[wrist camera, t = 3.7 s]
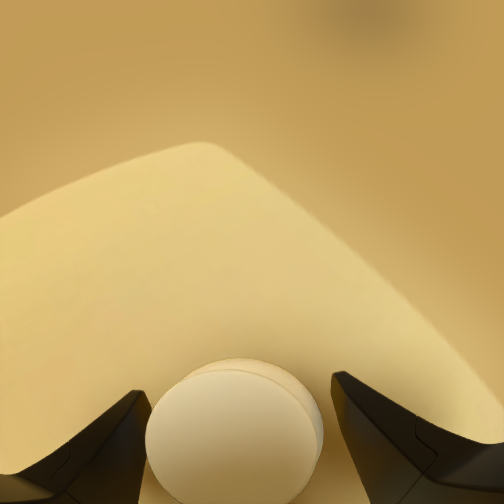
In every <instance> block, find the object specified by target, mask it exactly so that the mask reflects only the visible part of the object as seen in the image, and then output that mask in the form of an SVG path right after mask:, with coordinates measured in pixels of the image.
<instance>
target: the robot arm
mask: <svg viewBox="0 0 504 504" xmlns="http://www.w3.org/2000/svg"><path fill="white" fill-rule="evenodd" d="M331 397H332V400H333V404H334V408H335V411H336V415H337V419H338V422H339V426H340V430H341V432H342V435H343V438H344V440H345V442H346V445H347V447H348V450H349V452H350V454H351V457H352V459H353V462H354V464H355V466H356V469H357V471H358V474H359V476H360V478H361V481H362V483H363V486H364V488H365V491H366V493H367V495H368V498H369V500H370V503H371V504H504V442H502V443H497V444H483V443H479V442H476V441H473V440H470V439H467V438H465V437H462V436H459V435H457V434H454V433H452V432H449V431H447V430H445V429H442V428H440V427H438V426H436V425H434V424H432V423H430V422H428V421H426V420H424V419H423V418H421V417H419V416H417V417H416V414H414V413H412V412H410V411H409V410H407V409H405V408H404V407H402V406H400V405H399V404H397V403H395V402H394V401H392V400H390V399H389V398H387V397H385V396H384V395H382V394H381V393H379V392H377V391H376V390H374V389H372V388H371V387H369V386H368V385H366V384H364V383H363V382H361V381H360V380H358V379H357V378H355V377H353V376H352V375H350V374H349V373H347V372H346V371H339V372H335V373H333V374H332V379H331ZM151 413H152V409H151V405H150V403H149V401H148V399H147V397H146V394H145V392H144V391H142V390H132V391H130V392H129V393H128V394H126V395H125V396H124V397H123V398H122V399H120V400H119V401H118V402H117V403H115V404H114V405H113V406H112V407H111V408H109V409H108V410H107V411H106V412H104V413H103V414H102V415H101V416H99V417H98V418H97V419H96V420H94V421H93V422H92V423H91V424H89V425H88V426H87V427H86V428H84V429H83V430H82V431H80V432H79V433H78V434H77V435H75V436H74V437H73V438H71V439H70V440H69V442H66V443H65V444H64V445H62V446H61V447H60V448H58V449H57V450H55V451H54V452H53V453H51V454H50V455H48V456H47V457H45V458H43V459H42V460H40V461H38V462H37V463H35V464H33V465H31V466H30V467H28V468H26V469H24V470H23V471H21V472H19V473H16V474H11V475H3V474H0V504H138V501H139V495H140V489H141V483H142V478H143V472H144V467H145V462H146V457H147V453H146V446H145V434H146V428H147V424H148V421H149V418H150V415H151Z"/></svg>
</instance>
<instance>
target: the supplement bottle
mask: <svg viewBox="0 0 504 504" xmlns="http://www.w3.org/2000/svg"><path fill="white" fill-rule="evenodd" d="M323 439H324V428H323V421H322V416H321V413H320V410H319V408H318V405H317V403H316V402H315V400H314V398H313V397H312V395H311V394H310V392H309V391H308V390H307V389H306V387H305V386H304V385H303V384H302V383H301V382H300V381H299V380H298V379H297V378H295V377H294V376H293V375H292V374H290V373H289V372H287V371H285V370H284V369H282V368H280V367H278V366H275V365H273V364H270V363H267V362H264V361H260V360H255V359H246V358H234V359H226V360H220V361H216V362H212V363H209V364H207V365H204V366H202V367H200V368H198V369H196V370H195V371H193V372H191V373H190V374H188V375H187V376H186V377H184V378H183V379H182V380H181V381H180V382H179V383H177V384H176V385H175V386H173V387H172V388H171V389H169V390H168V391H167V392H166V393H165V394H164V395H163V396H162V397H161V398H160V400H159V401H158V403H157V404H156V405H155V407H154V409H153V411H152V413H151V415H150V418H149V421H148V424H147V428H146V434H145V446H146V453H147V457H148V461H149V464H150V467H151V469H152V471H153V473H154V475H155V476H156V478H157V480H158V481H159V483H160V484H161V485H162V487H163V488H164V489H165V490H166V491H167V492H168V493H169V494H170V495H171V496H172V497H173V498H175V499H176V500H177V501H178V502H180V503H181V504H288V503H290V502H291V501H292V500H293V499H294V498H295V497H296V496H297V495H298V494H299V493H300V492H301V491H302V490H303V489H304V487H305V486H306V485H307V483H308V481H309V480H310V478H311V476H312V474H313V472H314V469H315V465H316V463H317V461H318V459H319V457H320V453H321V450H322V446H323Z"/></svg>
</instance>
